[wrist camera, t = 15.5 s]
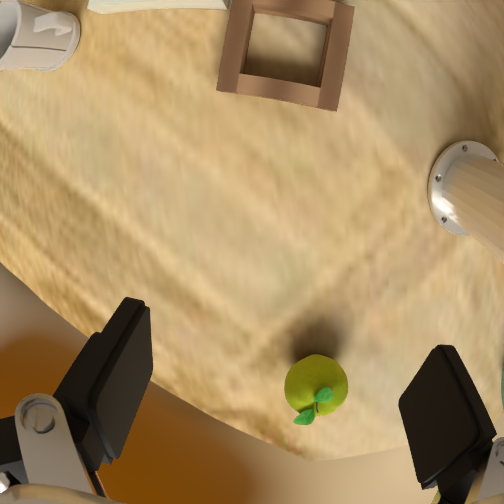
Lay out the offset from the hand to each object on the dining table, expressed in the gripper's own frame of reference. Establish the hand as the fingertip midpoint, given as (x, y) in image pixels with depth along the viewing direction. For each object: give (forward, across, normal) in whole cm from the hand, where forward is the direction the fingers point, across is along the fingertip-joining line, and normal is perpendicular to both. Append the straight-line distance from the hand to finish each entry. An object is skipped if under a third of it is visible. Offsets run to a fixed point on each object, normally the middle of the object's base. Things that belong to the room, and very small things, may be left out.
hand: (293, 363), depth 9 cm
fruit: (+28, -11, +28) cm, 41 cm away
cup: (+28, +31, -16) cm, 45 cm away
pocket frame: (+28, +2, -14) cm, 32 cm away
